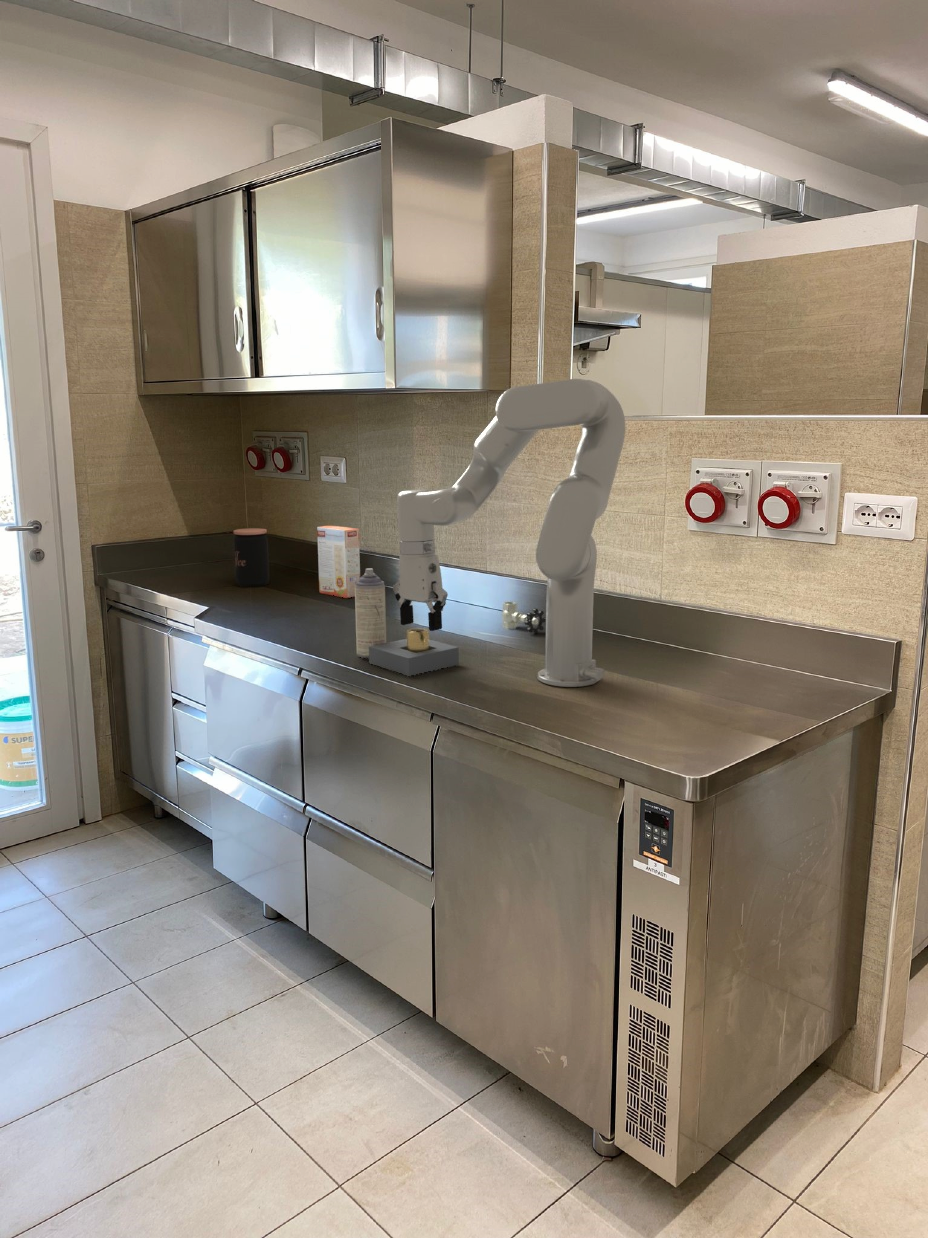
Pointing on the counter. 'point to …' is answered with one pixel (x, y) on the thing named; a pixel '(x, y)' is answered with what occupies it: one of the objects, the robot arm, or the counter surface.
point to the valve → (521, 618)
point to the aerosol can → (369, 612)
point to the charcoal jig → (413, 657)
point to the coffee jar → (251, 557)
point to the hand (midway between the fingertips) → (421, 626)
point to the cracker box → (338, 560)
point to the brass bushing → (417, 639)
